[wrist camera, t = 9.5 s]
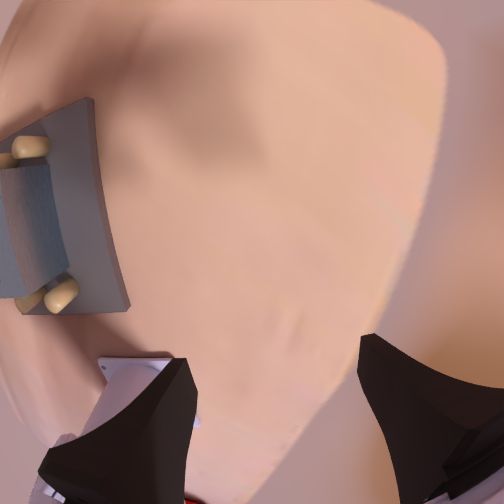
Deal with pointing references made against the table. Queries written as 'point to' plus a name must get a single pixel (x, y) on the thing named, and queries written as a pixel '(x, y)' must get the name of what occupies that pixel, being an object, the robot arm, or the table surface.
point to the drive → (28, 231)
